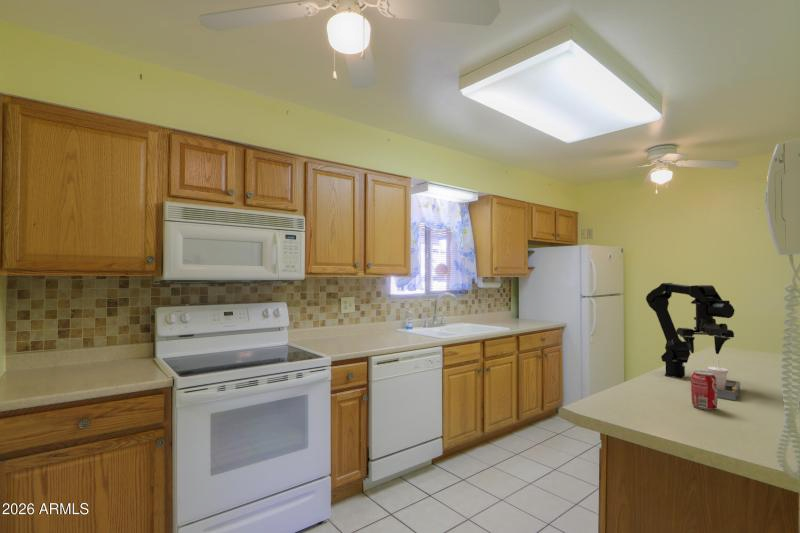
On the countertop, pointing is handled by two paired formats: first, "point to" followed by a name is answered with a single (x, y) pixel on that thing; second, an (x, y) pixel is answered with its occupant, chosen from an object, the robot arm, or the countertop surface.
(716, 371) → the white cup
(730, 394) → the frame
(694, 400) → the soda can
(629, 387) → the countertop surface
